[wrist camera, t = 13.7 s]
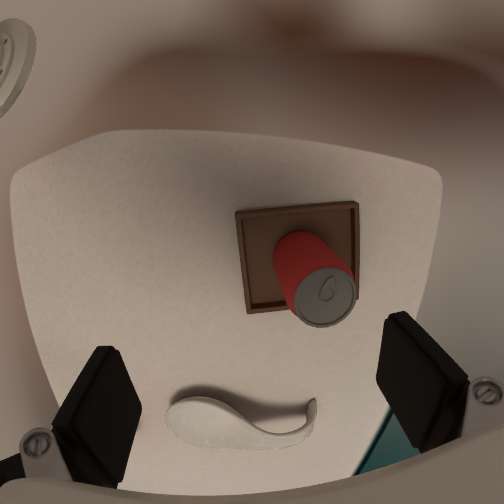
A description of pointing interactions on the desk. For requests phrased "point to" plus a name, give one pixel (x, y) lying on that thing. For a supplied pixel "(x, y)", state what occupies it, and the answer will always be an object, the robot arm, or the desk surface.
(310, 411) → the spoon rest
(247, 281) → the tray
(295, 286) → the beer can
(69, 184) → the desk surface
